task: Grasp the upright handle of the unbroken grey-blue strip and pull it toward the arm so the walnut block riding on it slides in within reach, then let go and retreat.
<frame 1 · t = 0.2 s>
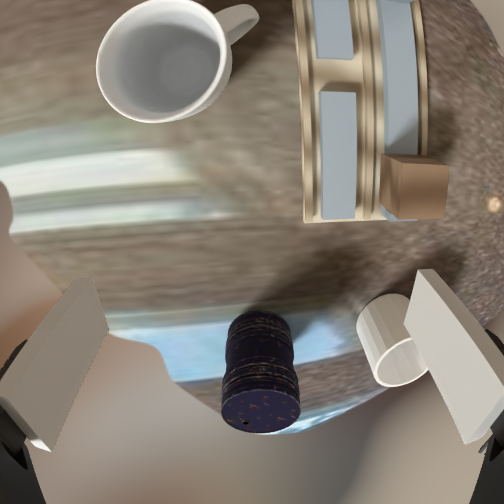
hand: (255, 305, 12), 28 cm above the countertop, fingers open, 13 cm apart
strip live: (420, 96, 26), point 7 cm above the countertop, slide at 0.0 cm, touching walnut block
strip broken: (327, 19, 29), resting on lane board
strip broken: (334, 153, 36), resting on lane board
storage jar: (259, 334, 48), on the countertop
mug 2: (391, 313, 47), on the countertop
lane board: (364, 86, 32), on the countertop
walnut block: (401, 178, 35), point 3 cm above the countertop, touching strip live
mug: (196, 66, 32), on the countertop
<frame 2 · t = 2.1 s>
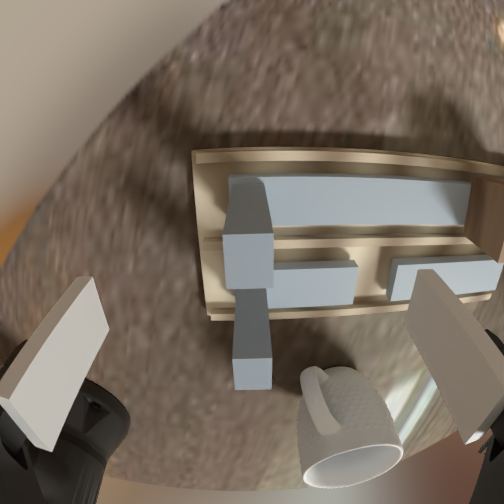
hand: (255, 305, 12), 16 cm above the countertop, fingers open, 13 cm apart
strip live: (432, 220, 21), point 7 cm above the countertop, slide at 0.0 cm, touching walnut block
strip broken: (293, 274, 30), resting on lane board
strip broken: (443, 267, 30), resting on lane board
lane board: (381, 234, 29), on the countertop
walnut block: (488, 206, 25), point 3 cm above the countertop, touching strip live
mug: (329, 377, 37), on the countertop
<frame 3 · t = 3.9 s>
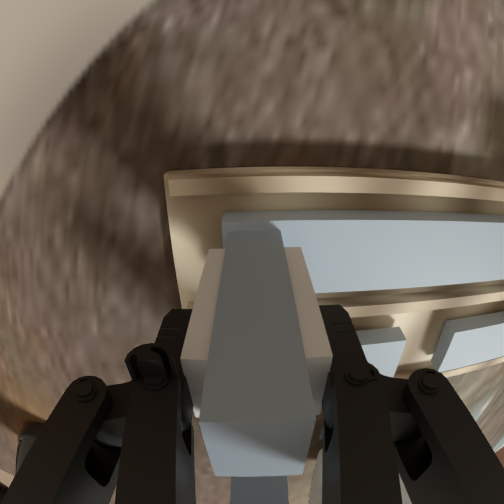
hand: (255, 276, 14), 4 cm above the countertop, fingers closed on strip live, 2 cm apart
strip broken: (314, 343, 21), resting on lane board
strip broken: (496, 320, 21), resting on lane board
lane board: (435, 289, 19), on the countertop
mug: (348, 441, 28), on the countertop
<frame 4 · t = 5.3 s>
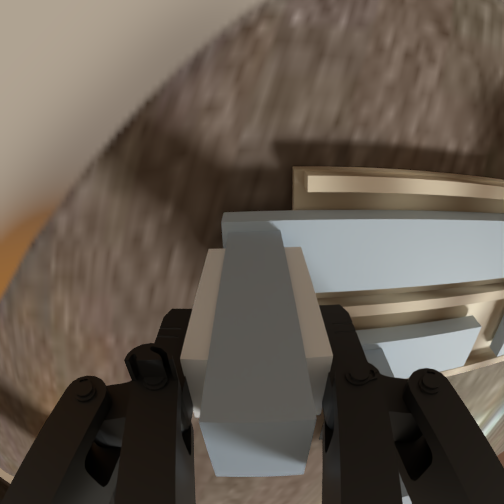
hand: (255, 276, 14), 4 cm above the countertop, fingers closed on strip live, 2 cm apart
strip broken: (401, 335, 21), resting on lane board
lane board: (498, 281, 19), on the countertop
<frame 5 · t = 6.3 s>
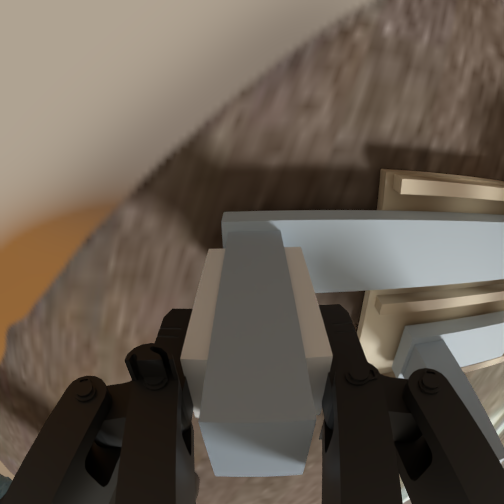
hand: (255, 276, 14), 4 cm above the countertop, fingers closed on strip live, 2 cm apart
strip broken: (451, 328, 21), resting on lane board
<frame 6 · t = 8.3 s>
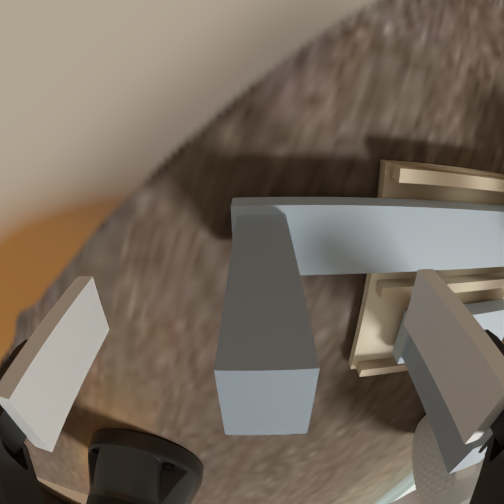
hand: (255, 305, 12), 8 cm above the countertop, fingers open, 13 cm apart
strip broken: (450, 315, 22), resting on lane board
mug: (439, 411, 29), on the countertop
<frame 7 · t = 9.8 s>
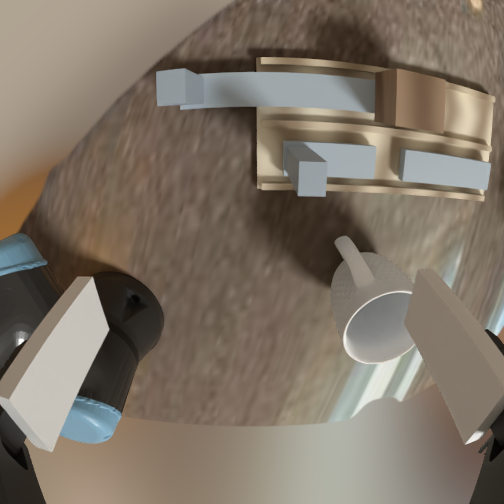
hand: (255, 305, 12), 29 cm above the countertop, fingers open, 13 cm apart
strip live: (324, 89, 28), point 7 cm above the countertop, slide at 11.5 cm, touching walnut block
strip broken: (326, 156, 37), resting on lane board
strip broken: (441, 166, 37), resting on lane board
lane board: (391, 130, 35), on the countertop
walnut block: (397, 100, 31), point 3 cm above the countertop, touching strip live
mug: (355, 267, 44), on the countertop
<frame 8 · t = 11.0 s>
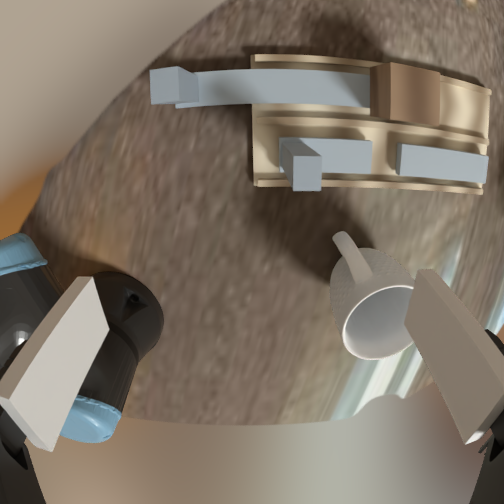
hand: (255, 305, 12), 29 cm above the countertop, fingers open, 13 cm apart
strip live: (318, 84, 27), point 7 cm above the countertop, slide at 11.5 cm, touching walnut block
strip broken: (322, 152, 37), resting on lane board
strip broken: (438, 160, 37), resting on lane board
lane board: (387, 125, 35), on the countertop
walnut block: (393, 94, 31), point 3 cm above the countertop, touching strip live
mug: (353, 263, 44), on the countertop
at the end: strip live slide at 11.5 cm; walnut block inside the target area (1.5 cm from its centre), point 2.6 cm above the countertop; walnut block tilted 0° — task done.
